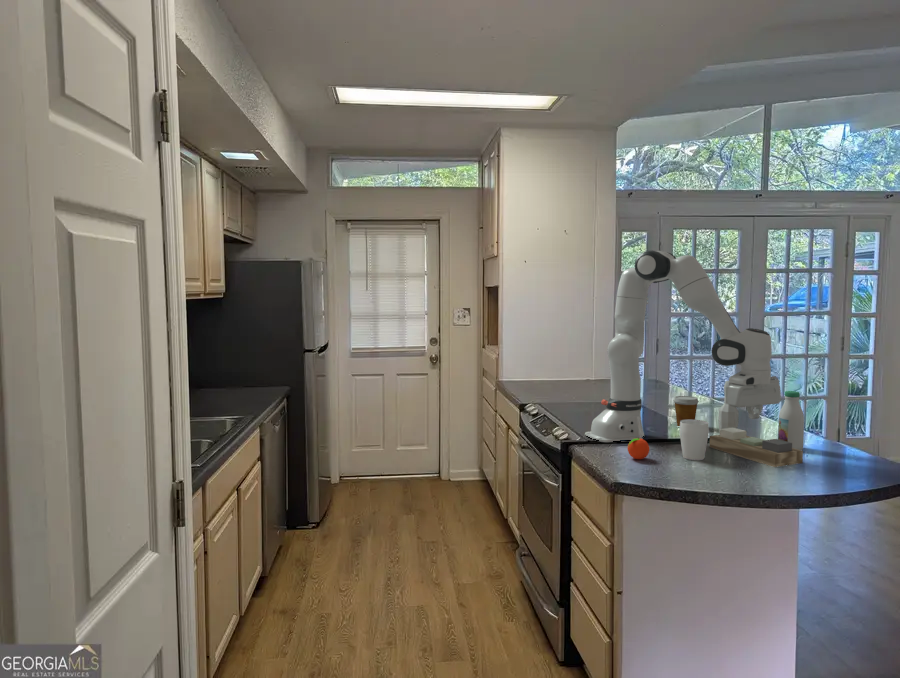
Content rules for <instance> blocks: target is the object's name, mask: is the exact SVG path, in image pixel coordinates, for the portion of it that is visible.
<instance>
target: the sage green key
mask: <svg viewBox="0 0 900 678" xmlns="http://www.w3.org/2000/svg"><path fill="white" fill-rule="evenodd" d="M763 440H764V439H763V438H758V437H756V436H750V437H749V438H741V439H740V442H741V443H745V444H748V445H752V446H761V445H762V441H763Z"/></svg>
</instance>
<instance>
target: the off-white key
mask: <svg viewBox="0 0 900 678" xmlns="http://www.w3.org/2000/svg"><path fill="white" fill-rule="evenodd" d="M747 433H748V432H747V430H745V429H744V430H743V429H740V428H737V429H736V428H725V429H720V430H719V435H720V437H723V438H727V439H731V440H739V439H741V438H746V436H747Z"/></svg>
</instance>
